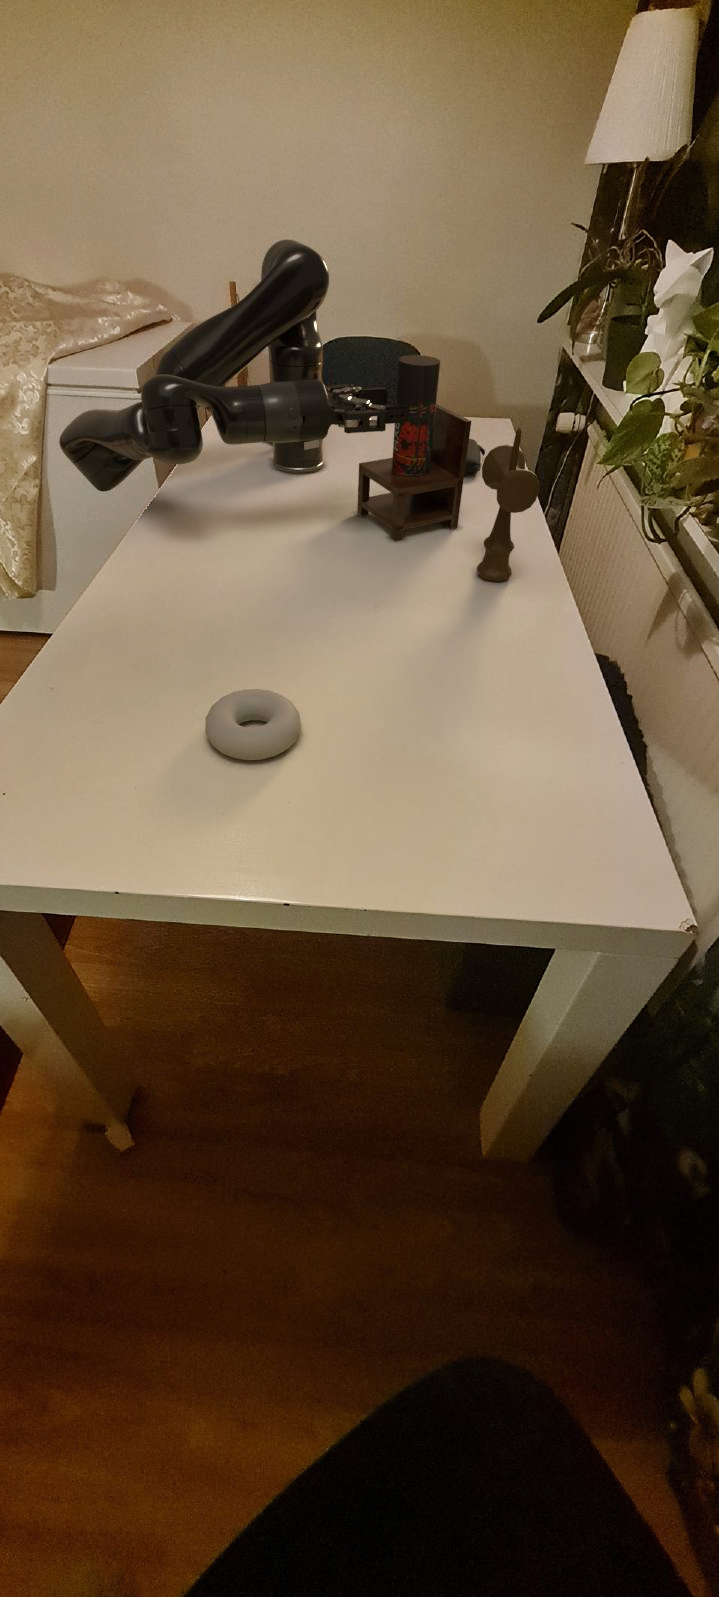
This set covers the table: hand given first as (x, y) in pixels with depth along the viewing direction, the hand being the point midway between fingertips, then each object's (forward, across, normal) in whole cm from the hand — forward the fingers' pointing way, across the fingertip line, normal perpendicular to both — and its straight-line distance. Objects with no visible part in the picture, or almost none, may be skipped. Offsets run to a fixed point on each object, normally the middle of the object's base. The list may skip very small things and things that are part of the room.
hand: (397, 404), depth 104 cm
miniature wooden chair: (+3, 0, -18) cm, 18 cm away
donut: (-34, +47, -18) cm, 61 cm away
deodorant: (+3, 0, -10) cm, 10 cm away
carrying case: (+23, -22, -18) cm, 36 cm away
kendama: (+8, +22, -18) cm, 29 cm away
